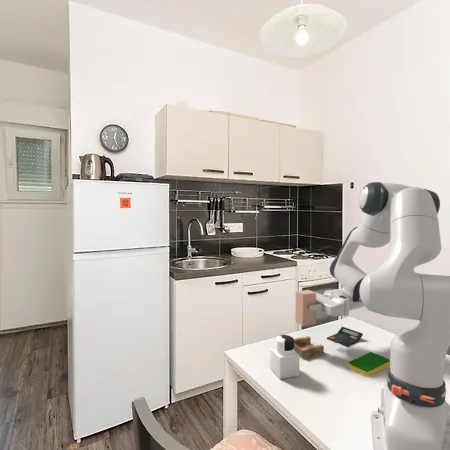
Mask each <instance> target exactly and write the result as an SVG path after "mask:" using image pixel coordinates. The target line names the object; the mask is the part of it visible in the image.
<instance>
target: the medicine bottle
mask: <svg viewBox="0 0 450 450" xmlns="http://www.w3.org/2000/svg"><path fill="white" fill-rule="evenodd" d="M294 339H295V338H294V337H293V336H290V335H288V334H281V335H280V334H279V335H277V336H276V338H275V347H273V348H270V360H269V361H270V364H269V365H270V370H271V371H272V372H273V373H274V374H275V376H276V377H277V378H278V379H280V380H284V379H289V378H295V377H299V376H300V358H301V357H300V356H299V354H298V353H296V352H295V351H294Z"/></svg>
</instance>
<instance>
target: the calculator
mask: <svg viewBox="0 0 450 450" xmlns="http://www.w3.org/2000/svg"><path fill="white" fill-rule="evenodd" d="M362 337H363V332H360V331H356V330H354V329H351V328H348V327H345V326H341V327H340V329H339V330H338V331H337V332H336V333H335V334H332V335H330V336H327V337H326V340H328V341H332V342H334V343H336V344H338V343H339V345H341V346H344V347H346V348H349V347H350V345H351V346H353V345H354V344H356V343H358V342H360V340H361V339H362ZM352 344H353V345H352Z"/></svg>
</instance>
